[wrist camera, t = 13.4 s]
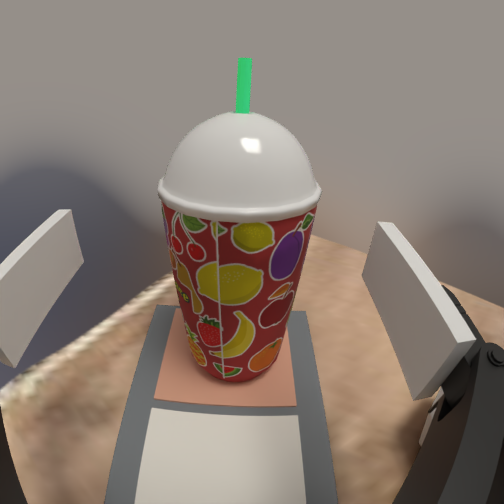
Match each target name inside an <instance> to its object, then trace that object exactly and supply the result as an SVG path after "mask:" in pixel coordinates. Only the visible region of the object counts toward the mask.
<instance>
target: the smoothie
mask: <svg viewBox="0 0 504 504" xmlns="http://www.w3.org/2000/svg"><path fill="white" fill-rule="evenodd" d="M251 69H252V59H251V58H239V59H238V76H237V77H238V78H237V97H236V111H235V112H234V111H233V112H226V113H223V114H220V115H217V116H214V117H212V118H210V119H208V120H206V121H204V122H203V123H200V124H199V125H198V126H196V127H195V128H193V129H192V130H191V131H190V132H189V133H188V134H187V135H186V136H185V137H184V138H183V139H182V140H181V141H180V143H179V145H178V146H177V147H176V149H175V151H174V152H173V154H172V157H171V159H170V162H169V164H168V167H167V170H166V173H165V175H164V176H163V177H162V178H161V179H160V180H159V182H158V189H157V192H158V196H159V198H160V199H161V203H162V214H163V219H164V226H165V232H166V238H167V243H168V249H169V254H170V260H171V265H172V270H173V275H174V280H175V285H176V289H177V294H178V299H179V303H180V308H181V312H182V316H183V321H184V325H185V329H186V333H187V337H188V341H189V345H190V349H191V353H192V356H193V357H194V359H195V360H196V362H197V363H198V365H199V366H200V367H202V368H203V369H204V370H206V371H207V372H208V373H210V374H211V375H212V376H214V377H215V378H218V379H221V380H224V381H227V382H243V381H247V380H251V379H253V378H255V377H257V376H259V375H261V374H262V373H263V372H264V371H266V370H268V369H269V368H270V367H271V366H272V364H273V363H274V362H275V361H276V360H277V357H278V354H279V352H280V348H281V345H282V341H283V338H284V335H285V331H286V328H287V324H288V320H289V317H290V313H291V310H292V306H293V302H294V298H295V295H296V291H297V287H298V283H299V279H300V276H301V272H302V268H303V264H304V260H305V256H306V252H307V248H308V243H309V239H310V235H311V231H312V226H313V222H314V218H315V213H316V209H317V203H318V201H319V199H320V197H321V193H322V190H321V188H320V186H319V185H318V182H317V181H316V180H315V179H314V174H313V171H312V168H311V165H310V161H309V159H308V157H307V155H306V153H305V151H304V150H303V148H302V146H301V144H300V143H299V142H298V140H297V139H296V138H295V137H294V135H293V134H292V133H291V132H290V131H289V130H287V129H286V128H285V127H284V126H283V125H281V124H279V123H278V122H276V121H274V120H272V119H270V118H268V117H266V116H263V115H261V114H258V113H254V112H249V107H250V88H251Z"/></svg>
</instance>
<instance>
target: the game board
mask: <svg viewBox="0 0 504 504" xmlns="http://www.w3.org/2000/svg"><path fill="white" fill-rule="evenodd" d="M104 504H338V498H337V491H336V483H335V476H334V468H333V461H332V455H331V448H330V442H329V435H328V429H327V423H326V417H325V411H324V405H323V399H322V393H321V388H320V382H319V377H318V371H317V366H316V361H315V355H314V350H313V345H312V340H311V335H310V330H309V325H308V320H307V315H306V311H291V313H290V317H289V320H288V324H287V328H286V331H285V335H284V338H283V341H282V345H281V348H280V352H279V354H278V357H277V360H276V361H275V362H274V363H273V364H272V366H271V367H270V368H269V369H268V370H266V371H264V372H263V373H262V374H261V375H259V376H257V377H255V378H253V379H251V380H247V381H243V382H227V381H224V380H221V379H218V378H215V377H214V376H212V375H211V374H210V373H208V372H207V371H206V370H204V369H203V368H202V367H200V366H199V365H198V363H197V362H196V360H195V359H194V357H193V356H192V353H191V349H190V345H189V341H188V337H187V333H186V329H185V325H184V321H183V316H182V312H181V308H180V306H168V305H157V306H156V309H155V312H154V315H153V318H152V321H151V324H150V327H149V330H148V333H147V336H146V339H145V342H144V345H143V348H142V352H141V355H140V358H139V361H138V365H137V368H136V371H135V375H134V378H133V382H132V385H131V389H130V392H129V396H128V399H127V403H126V407H125V411H124V414H123V418H122V422H121V426H120V430H119V434H118V438H117V443H116V447H115V451H114V456H113V460H112V465H111V470H110V475H109V480H108V485H107V490H106V496H105V501H104Z"/></svg>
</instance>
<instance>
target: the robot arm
mask: <svg viewBox="0 0 504 504" xmlns="http://www.w3.org/2000/svg"><path fill="white" fill-rule="evenodd" d="M83 262H84V261H83V257H82V253H81V250H80V246H79V242H78V238H77V234H76V230H75V225H74V221H73V217H72V212H71V210H58V211H57V212H55V213H54V214H53V215H52V216H51V217H49V218H48V220H46V221H45V222H44V223H43V224H42V225H40V226H39V227H38V228H37V229H36V230H35V231H34V232H33V233H32V234H31V235H30V236H29V237H28V238H26V239H25V240H24V241H23V242H22V243H21V244H20V245H19V246H18V247H17V248H16V249H15V250H14V251H13V252H12V253H11V254H10V255H9V256H8V257H7V258H6V259H5V260H4V261H3V262H2V263H1V264H0V360H1V362H2V363H4V364H6V365H8V366H11V367H13V368H15V367H16V366H17V364H18V362H19V360H20V358H21V356H22V355H23V353H24V351H25V349H26V348H27V346H28V344H29V342H30V341H31V339H32V337H33V336H34V334H35V332H36V331H37V329H38V328H39V326H40V324H41V323H42V321H43V319H44V318H45V316H46V315H47V313H48V312H49V310H50V309H51V307H52V306H53V304H54V303H55V301H56V299H57V298H58V297H59V295H60V294H61V292H62V291H63V290H64V288H65V287H66V285H67V284H68V283H69V281H70V280H71V278H72V277H73V275H74V274H75V273H76V272H77V270H78V269H79V267H80V266H81V265H82V263H83ZM362 277H363V280H364V282H365V284H366V286H367V288H368V290H369V292H370V295H371V297H372V299H373V301H374V303H375V306H376V308H377V310H378V312H379V315H380V317H381V319H382V322H383V324H384V326H385V329H386V331H387V333H388V336H389V338H390V341H391V343H392V345H393V348H394V350H395V353H396V356H397V358H398V361H399V363H400V366H401V368H402V371H403V374H404V376H405V379H406V382H407V385H408V387H409V390H410V393H411V396H412V399H413V401H414V400H419V399H423V398H428V397H432V396H433V394H434V393H435V392H436V391H437V390H438V389H439V387H440V386H441V387H442V390H443V392H444V394H443V395H442V396H441V397H440V398H439V399H438V400H437V401H436V403H435V404H434V405H433V406H432V407H431V408H430V409H429V411H428V413H431V412H432V411H433V410H434V409H435V408H436V410H435V413H434V416H433V419H432V421H431V424H430V427H429V429H428V432H427V434H426V437H425V439H424V441H423V444H422V446H421V448H420V451H419V453H418V455H417V457H416V459H415V462H414V464H413V466H412V468H411V470H410V472H409V474H408V476H407V478H406V480H405V482H404V483H403V485H402V487H401V489H400V491H399V493H398V494H397V496H396V498H395V500H394V501H393V503H392V504H504V350H503V348H501V347H500V346H498V345H497V344H494V343H485V341H484V340H483V338H482V336H481V335H480V333H479V332H478V330H477V328H476V327H475V325H474V324H473V322H472V320H471V319H470V317H469V316H468V314H466V311H465V310H464V308H463V307H462V306H461V304H460V302H459V301H458V299H457V298H456V297H455V295H454V294H453V293H452V292H451V291H450V290H448V289H447V288H446V287H445V286H444V285H440V283H439V282H438V280H437V279H436V278H435V276H434V275H433V273H432V272H431V271H430V269H429V268H428V267H427V265H426V264H425V263H424V262H423V260H422V259H421V258H420V256H419V255H418V254H417V252H416V251H415V250H414V249H413V247H412V246H411V245H410V244H409V242H408V241H407V240H406V239H405V237H404V236H403V235H402V234H401V233H400V231H399V230H398V229H397V228H396V226H395V225H394V224H393V223H388V222H377V223H376V227H375V231H374V235H373V238H372V242H371V245H370V249H369V253H368V256H367V259H366V263H365V266H364V269H363V273H362ZM0 504H28V503H27V501H26V498H25V496H24V493H23V491H22V488H21V485H20V482H19V479H18V476H17V473H16V470H15V467H14V464H13V460H12V457H11V453H10V449H9V446H8V442H7V437H6V433H5V428H4V424H3V418H2V413H1V407H0Z"/></svg>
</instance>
